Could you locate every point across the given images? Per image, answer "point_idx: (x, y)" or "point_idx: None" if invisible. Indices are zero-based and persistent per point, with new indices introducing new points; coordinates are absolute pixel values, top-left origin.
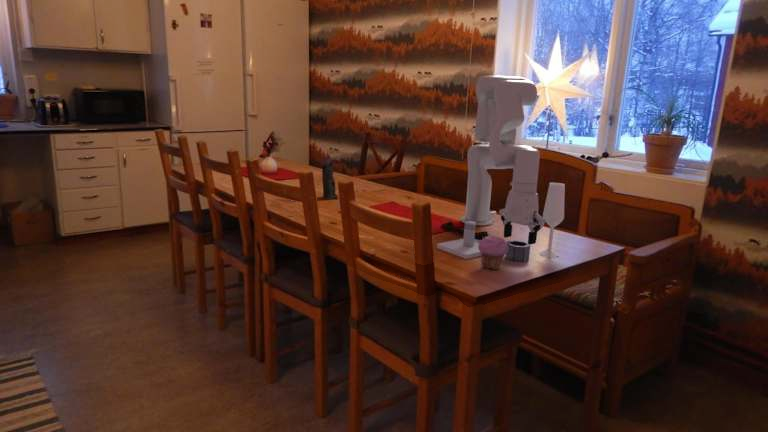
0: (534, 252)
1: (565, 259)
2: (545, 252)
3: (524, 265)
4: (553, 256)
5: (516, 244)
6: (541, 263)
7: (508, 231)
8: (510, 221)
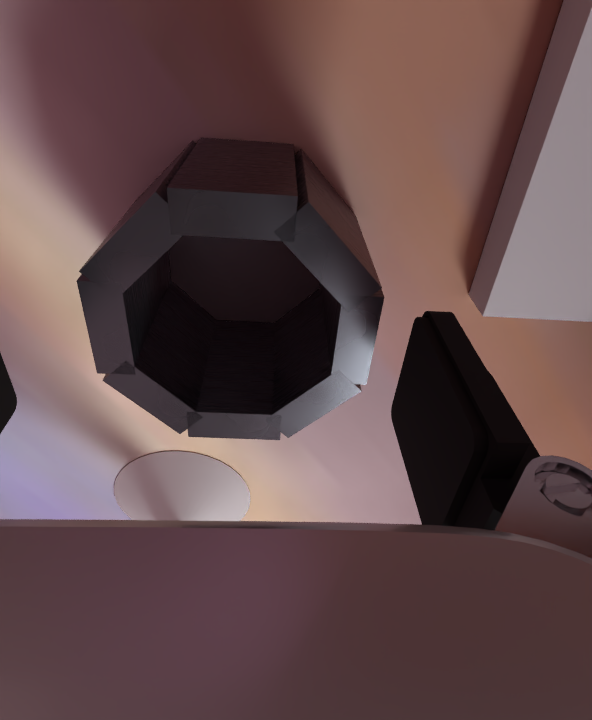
0: (266, 467)
1: (56, 497)
2: (179, 489)
3: (42, 127)
4: (123, 483)
5: (304, 367)
6: (38, 316)
7: (425, 414)
8: (356, 526)
